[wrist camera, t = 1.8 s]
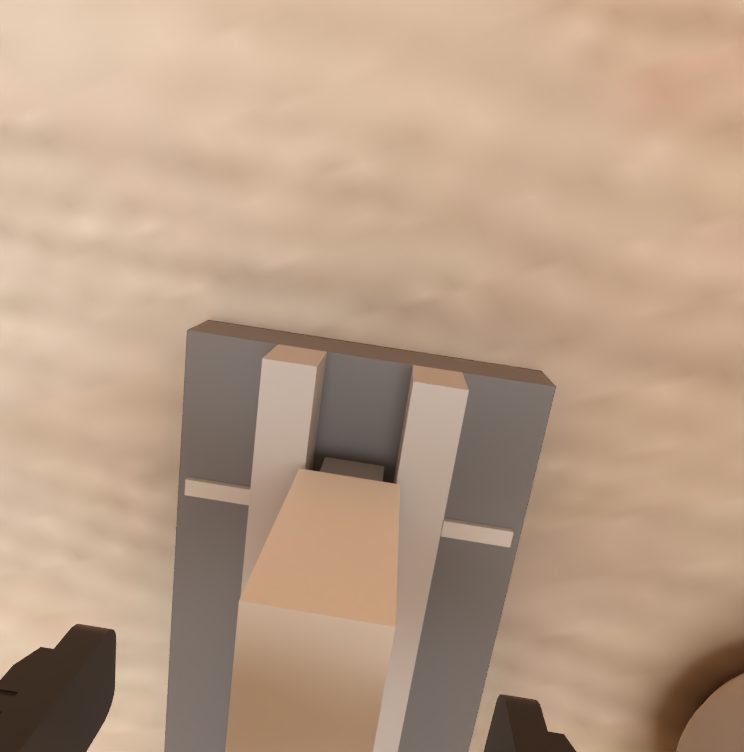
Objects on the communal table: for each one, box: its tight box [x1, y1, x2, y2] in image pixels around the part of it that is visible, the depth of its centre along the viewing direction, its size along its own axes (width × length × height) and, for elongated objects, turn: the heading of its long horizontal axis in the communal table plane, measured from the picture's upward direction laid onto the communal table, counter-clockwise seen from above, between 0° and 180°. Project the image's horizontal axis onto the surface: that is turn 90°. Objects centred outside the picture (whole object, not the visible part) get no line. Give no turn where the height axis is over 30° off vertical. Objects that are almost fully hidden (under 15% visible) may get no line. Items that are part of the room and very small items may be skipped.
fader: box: [225, 457, 400, 752], centre depth 15 cm, size 3×5×8 cm, turn 172°
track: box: [164, 320, 556, 752], centre depth 21 cm, size 12×27×4 cm, turn 172°
